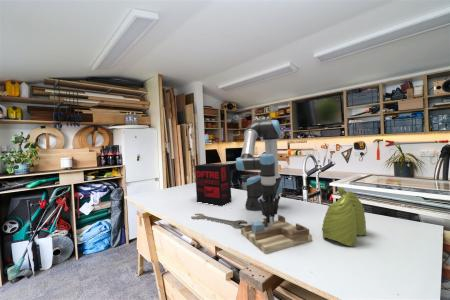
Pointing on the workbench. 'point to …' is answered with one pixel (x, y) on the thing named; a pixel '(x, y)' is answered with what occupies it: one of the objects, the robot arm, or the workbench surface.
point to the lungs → (345, 219)
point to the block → (257, 227)
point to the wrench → (222, 221)
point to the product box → (213, 183)
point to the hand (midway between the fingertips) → (270, 228)
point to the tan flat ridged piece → (277, 235)
